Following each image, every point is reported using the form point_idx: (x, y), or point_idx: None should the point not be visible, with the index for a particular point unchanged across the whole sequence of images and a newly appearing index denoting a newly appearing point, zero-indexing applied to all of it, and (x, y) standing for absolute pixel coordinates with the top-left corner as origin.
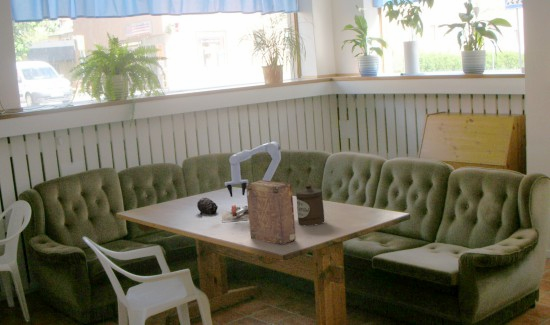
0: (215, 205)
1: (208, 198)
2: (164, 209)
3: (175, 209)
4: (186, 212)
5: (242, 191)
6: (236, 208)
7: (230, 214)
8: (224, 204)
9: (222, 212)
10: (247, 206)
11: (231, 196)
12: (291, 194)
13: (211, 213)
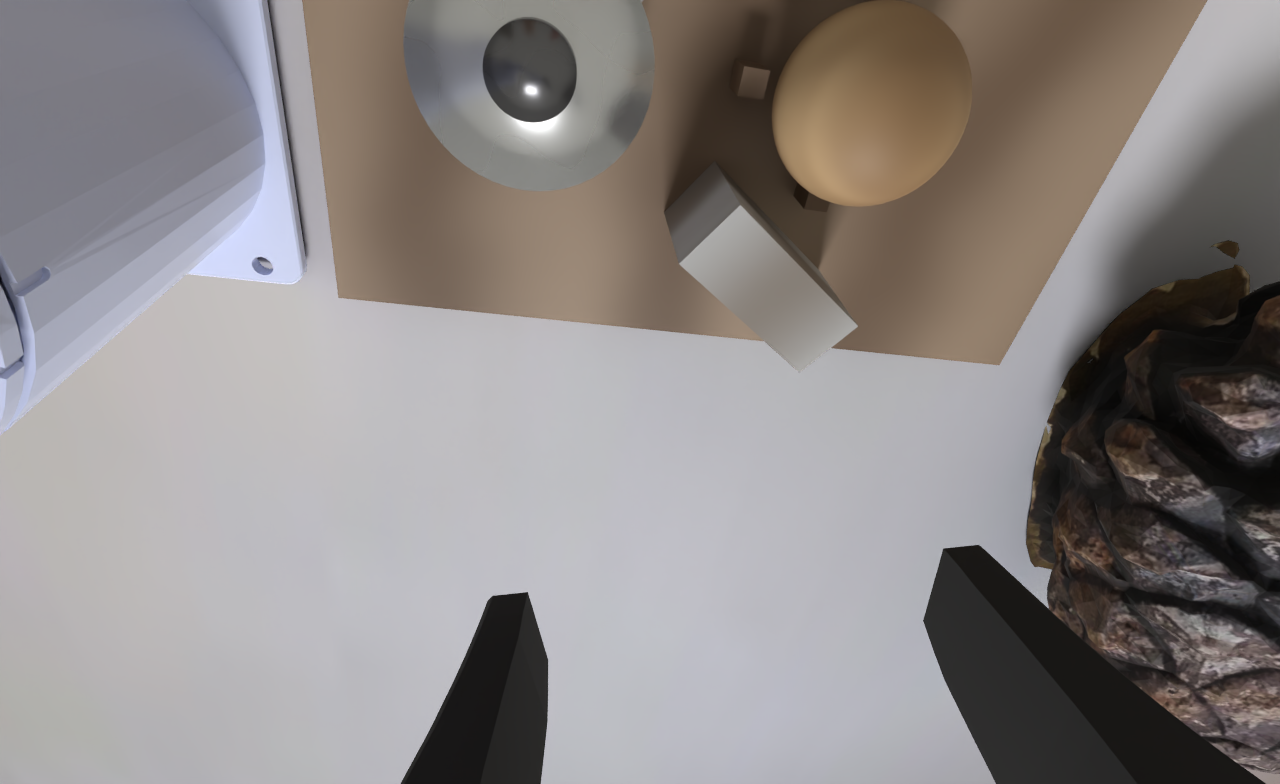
0: (1209, 469)
1: (1228, 744)
2: (1268, 774)
3: None
4: None
5: (531, 776)
6: (847, 60)
7: (968, 40)
8: (727, 756)
9: (995, 346)
10: (472, 87)
11: (988, 555)
12: None
13: (1273, 284)
